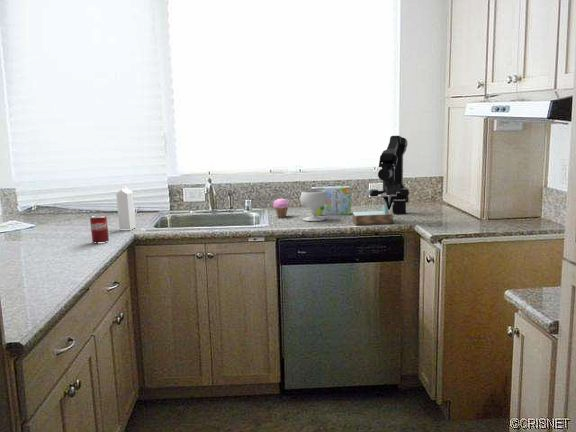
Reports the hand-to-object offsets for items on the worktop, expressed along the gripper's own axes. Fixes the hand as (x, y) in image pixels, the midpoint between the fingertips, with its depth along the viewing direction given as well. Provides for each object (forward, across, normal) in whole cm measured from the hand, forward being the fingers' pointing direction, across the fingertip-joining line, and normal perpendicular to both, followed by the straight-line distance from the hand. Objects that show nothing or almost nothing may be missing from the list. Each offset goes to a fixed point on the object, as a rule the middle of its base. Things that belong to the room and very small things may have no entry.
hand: (388, 209), depth 291 cm
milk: (+6, -131, +8) cm, 132 cm away
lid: (+2, -9, 0) cm, 9 cm away
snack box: (+6, -26, +29) cm, 40 cm away
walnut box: (+6, -8, 0) cm, 10 cm away
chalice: (+6, -36, +14) cm, 39 cm away
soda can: (+6, -136, -21) cm, 138 cm away
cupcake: (+6, -53, +27) cm, 60 cm away
